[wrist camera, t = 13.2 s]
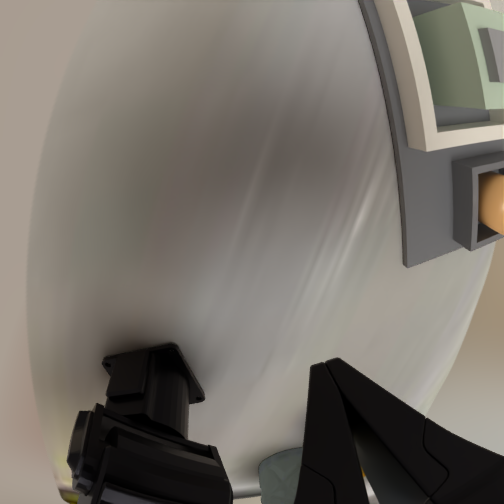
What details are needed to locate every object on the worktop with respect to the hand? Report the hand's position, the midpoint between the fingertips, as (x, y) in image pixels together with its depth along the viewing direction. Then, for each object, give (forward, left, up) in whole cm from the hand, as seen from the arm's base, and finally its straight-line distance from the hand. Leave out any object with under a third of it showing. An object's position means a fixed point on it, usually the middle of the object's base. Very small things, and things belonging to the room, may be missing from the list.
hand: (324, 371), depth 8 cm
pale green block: (+9, -15, -11) cm, 20 cm away
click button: (-1, -17, -11) cm, 20 cm away
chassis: (+5, -15, -12) cm, 19 cm away
